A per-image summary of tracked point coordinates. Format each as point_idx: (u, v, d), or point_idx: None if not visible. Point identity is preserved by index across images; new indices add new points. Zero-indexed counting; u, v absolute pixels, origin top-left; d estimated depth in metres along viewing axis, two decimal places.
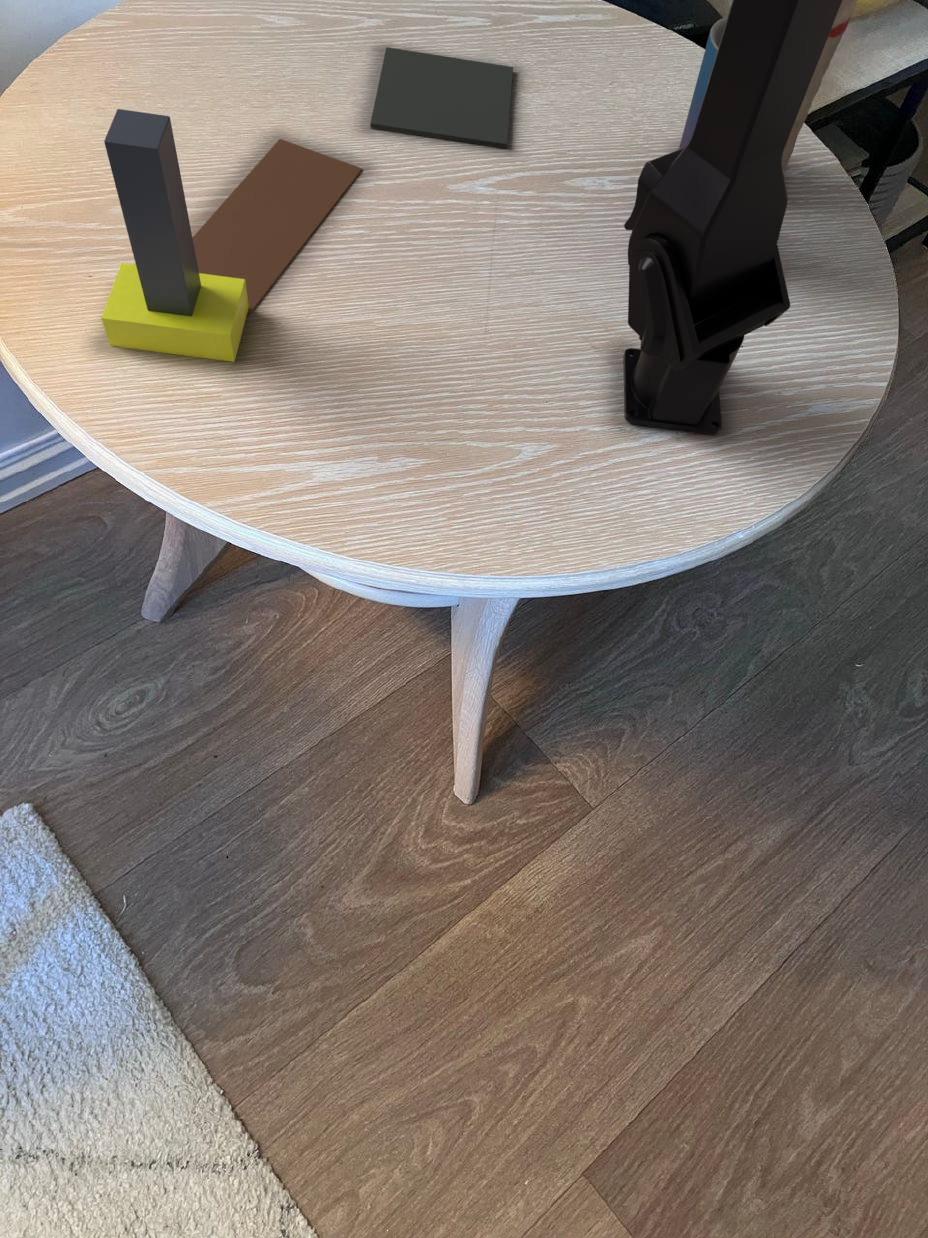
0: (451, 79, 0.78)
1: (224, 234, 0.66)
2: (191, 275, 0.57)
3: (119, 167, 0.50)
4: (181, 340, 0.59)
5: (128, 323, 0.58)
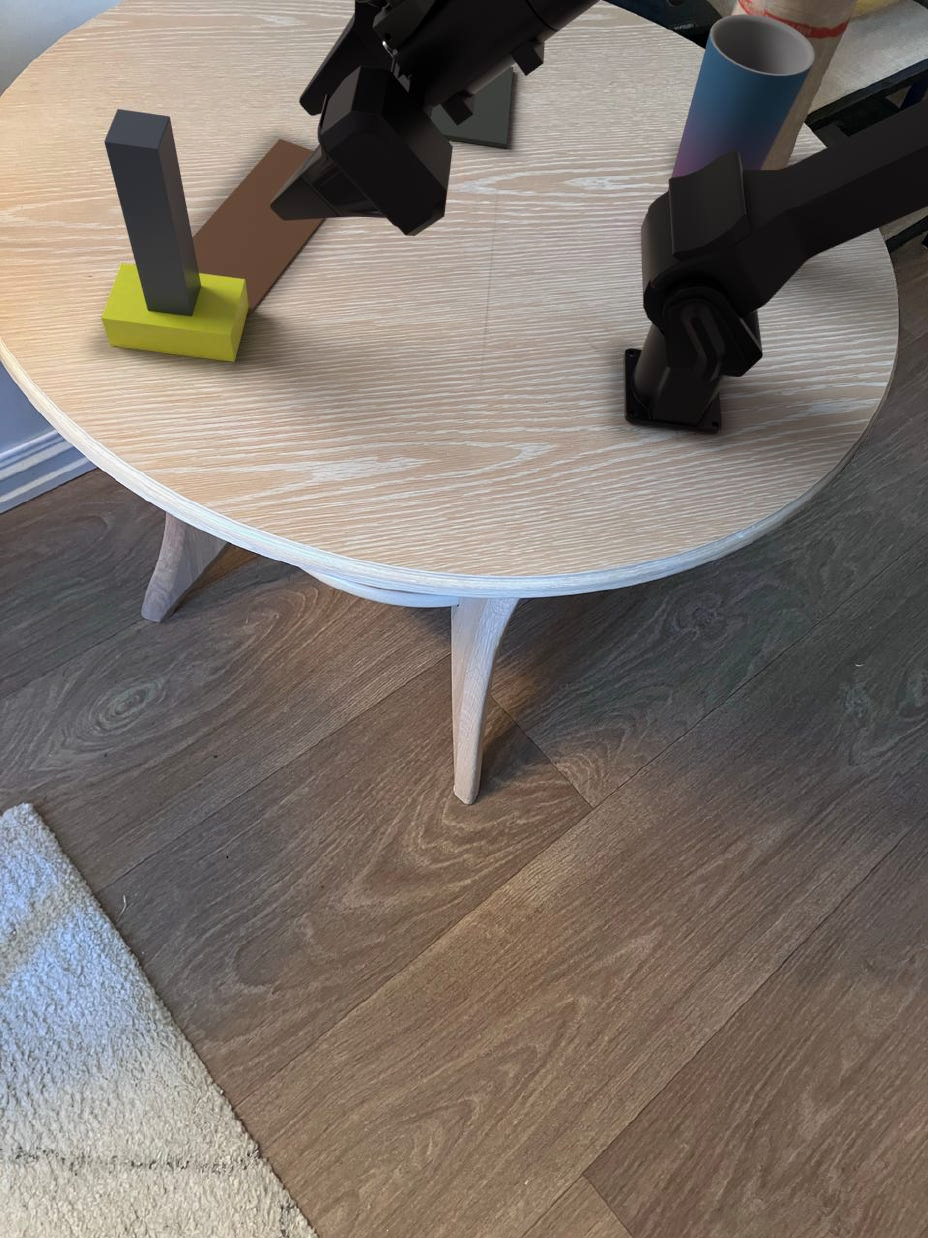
0: None
1: (224, 234, 0.66)
2: (191, 275, 0.57)
3: (119, 167, 0.50)
4: (181, 340, 0.59)
5: (128, 323, 0.58)
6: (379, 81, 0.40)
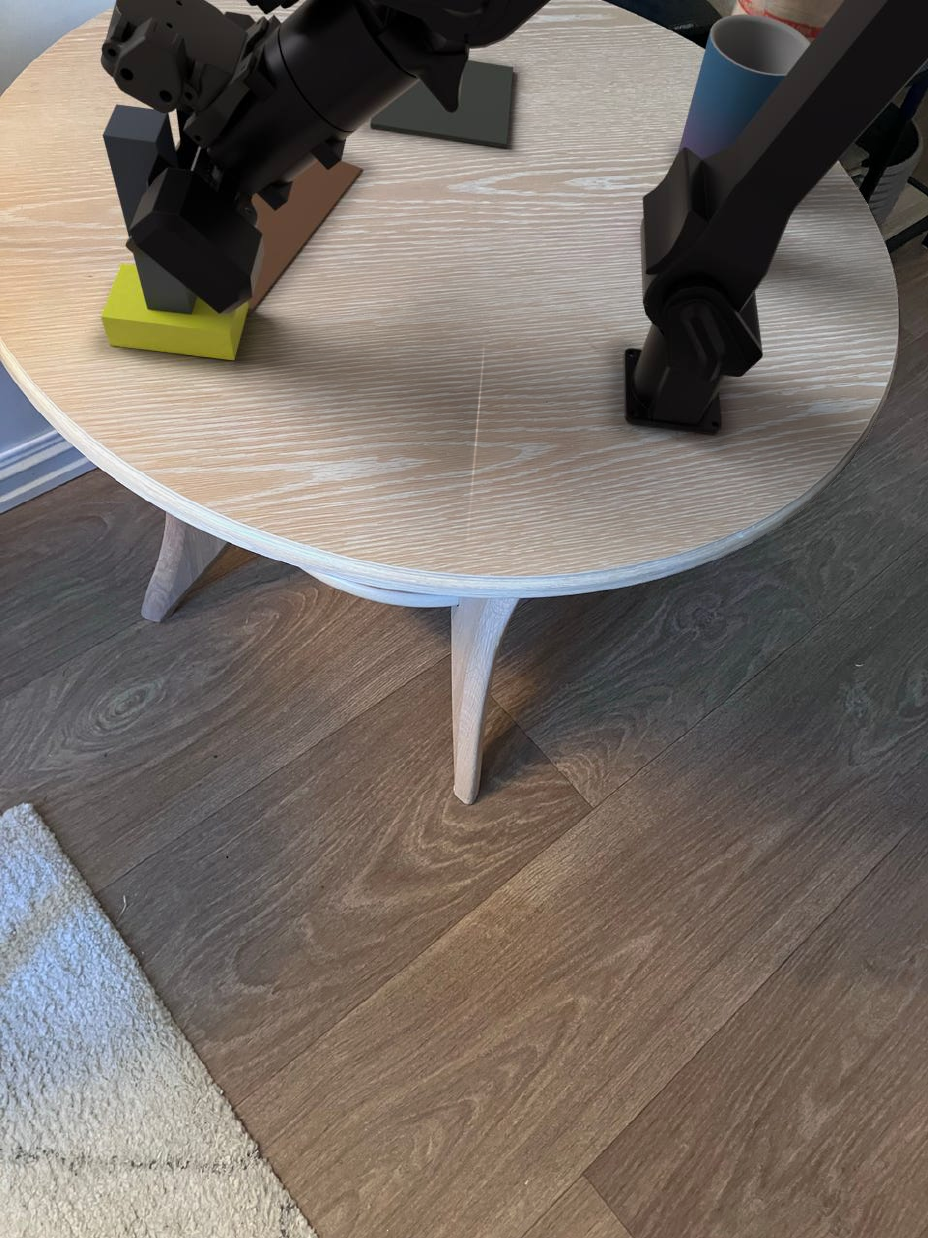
0: None
1: None
2: None
3: (118, 161, 0.50)
4: (181, 338, 0.59)
5: (128, 321, 0.58)
6: (182, 182, 0.45)
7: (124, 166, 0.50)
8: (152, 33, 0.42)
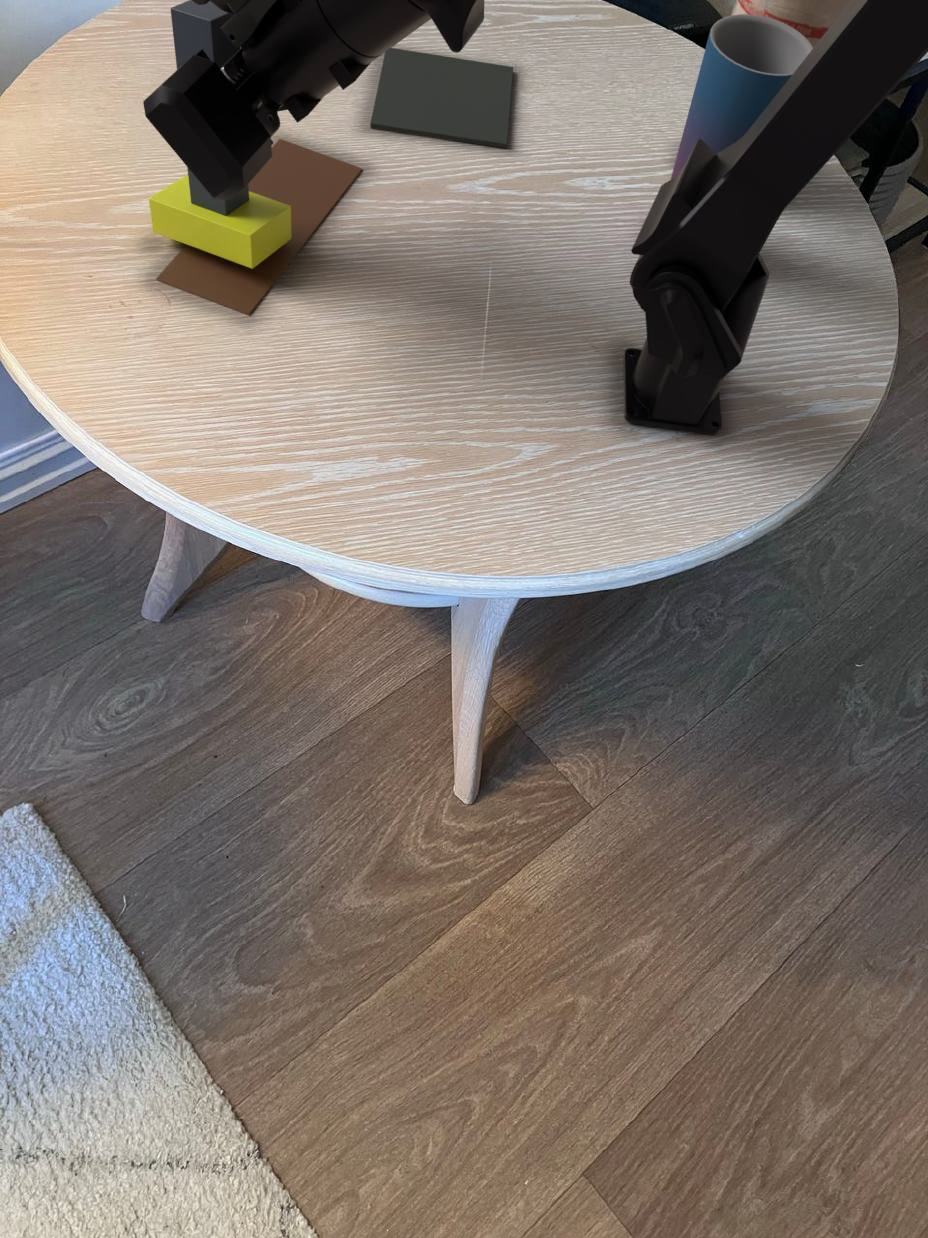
0: (451, 79, 0.78)
1: None
2: None
3: (179, 37, 0.55)
4: (210, 235, 0.62)
5: (169, 207, 0.62)
6: (199, 68, 0.49)
7: (184, 43, 0.55)
8: None
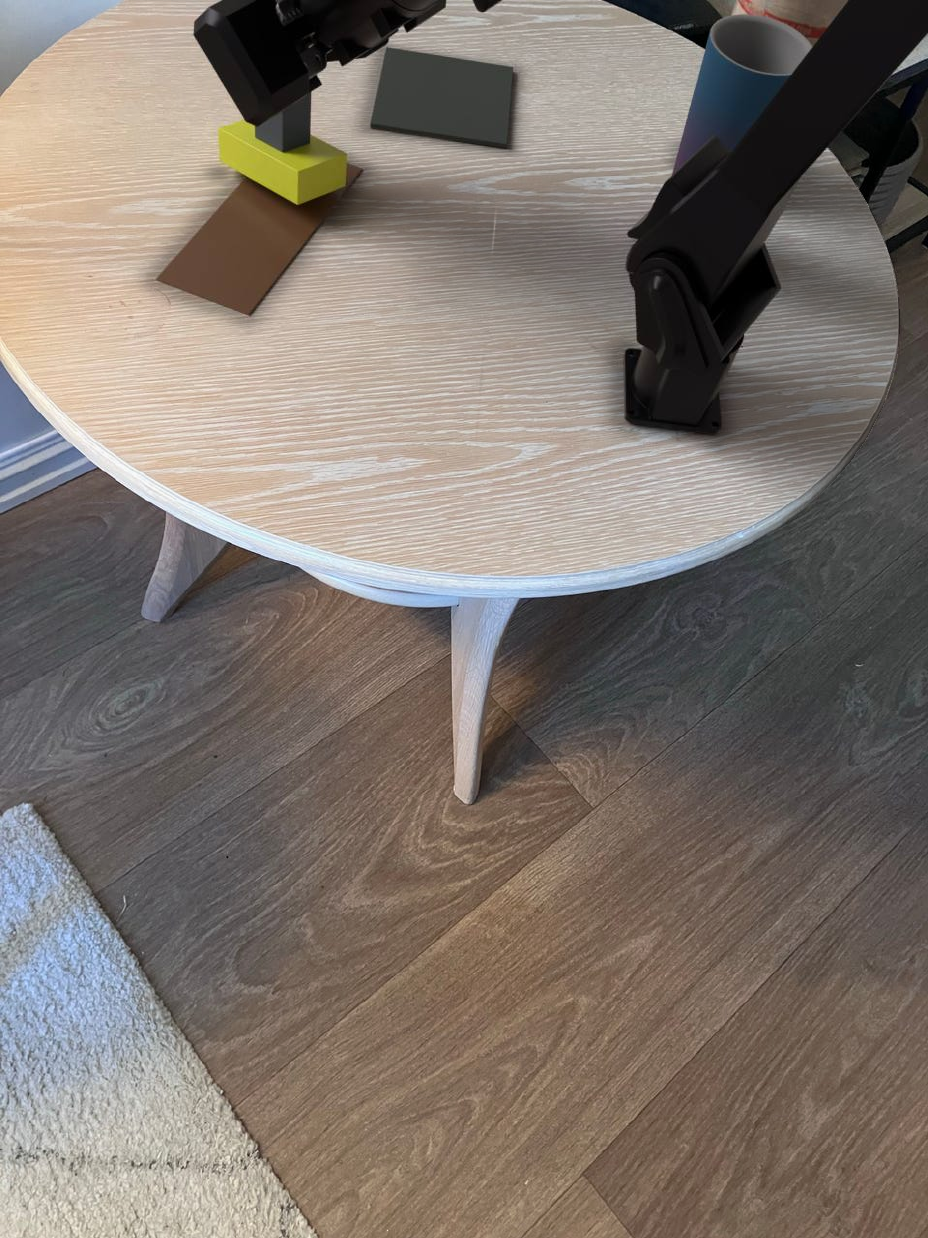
0: (451, 79, 0.78)
1: (224, 234, 0.66)
2: (296, 117, 0.65)
3: None
4: (265, 168, 0.66)
5: (234, 138, 0.67)
6: None
7: None
8: None
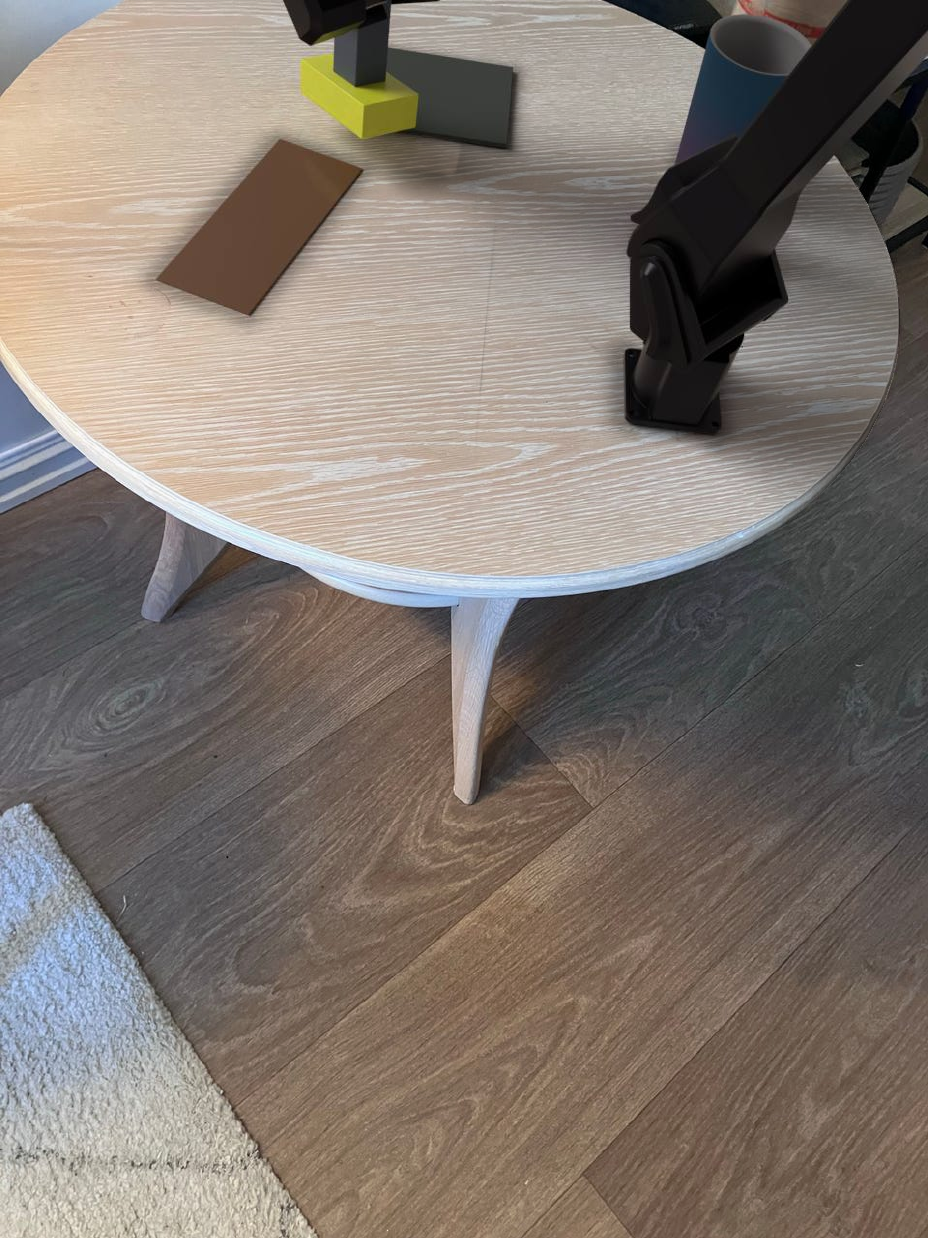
0: (451, 79, 0.78)
1: (224, 234, 0.66)
2: (371, 53, 0.67)
3: None
4: (337, 101, 0.68)
5: (313, 70, 0.69)
6: None
7: None
8: None
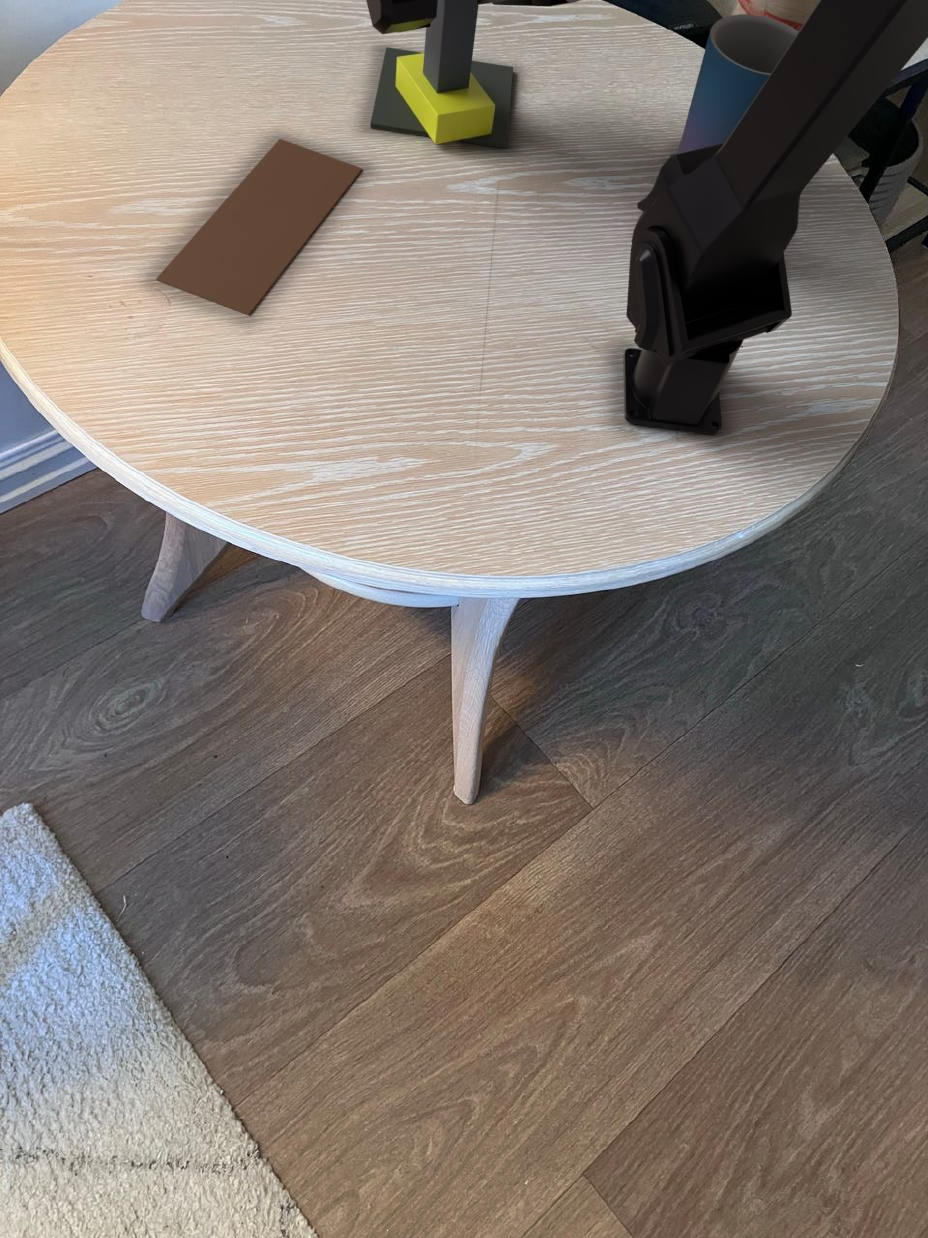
0: None
1: (224, 234, 0.66)
2: (454, 63, 0.72)
3: None
4: (419, 103, 0.74)
5: (404, 70, 0.74)
6: None
7: None
8: None
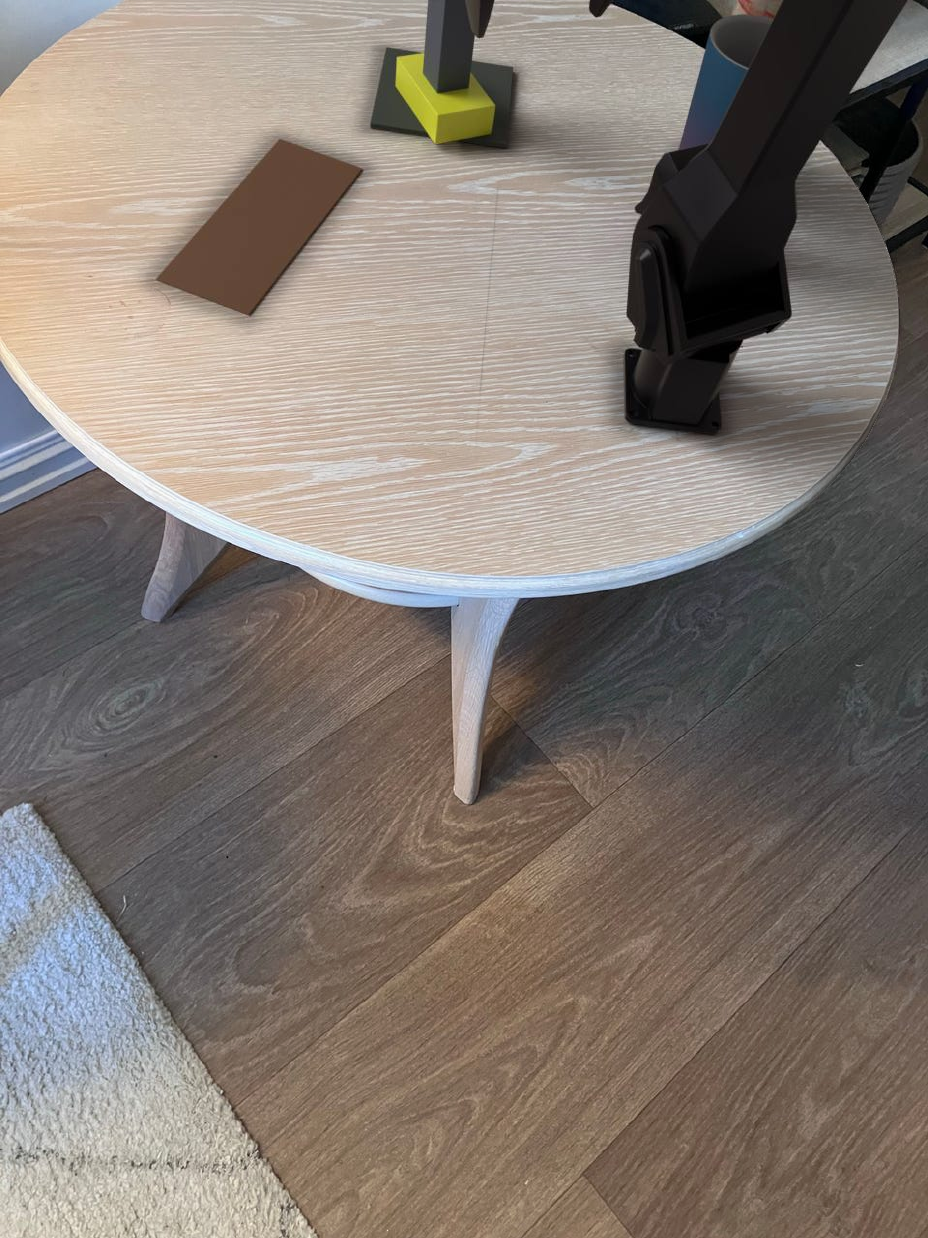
0: None
1: (224, 234, 0.66)
2: (454, 63, 0.72)
3: None
4: (419, 103, 0.74)
5: (404, 70, 0.74)
6: None
7: None
8: None
